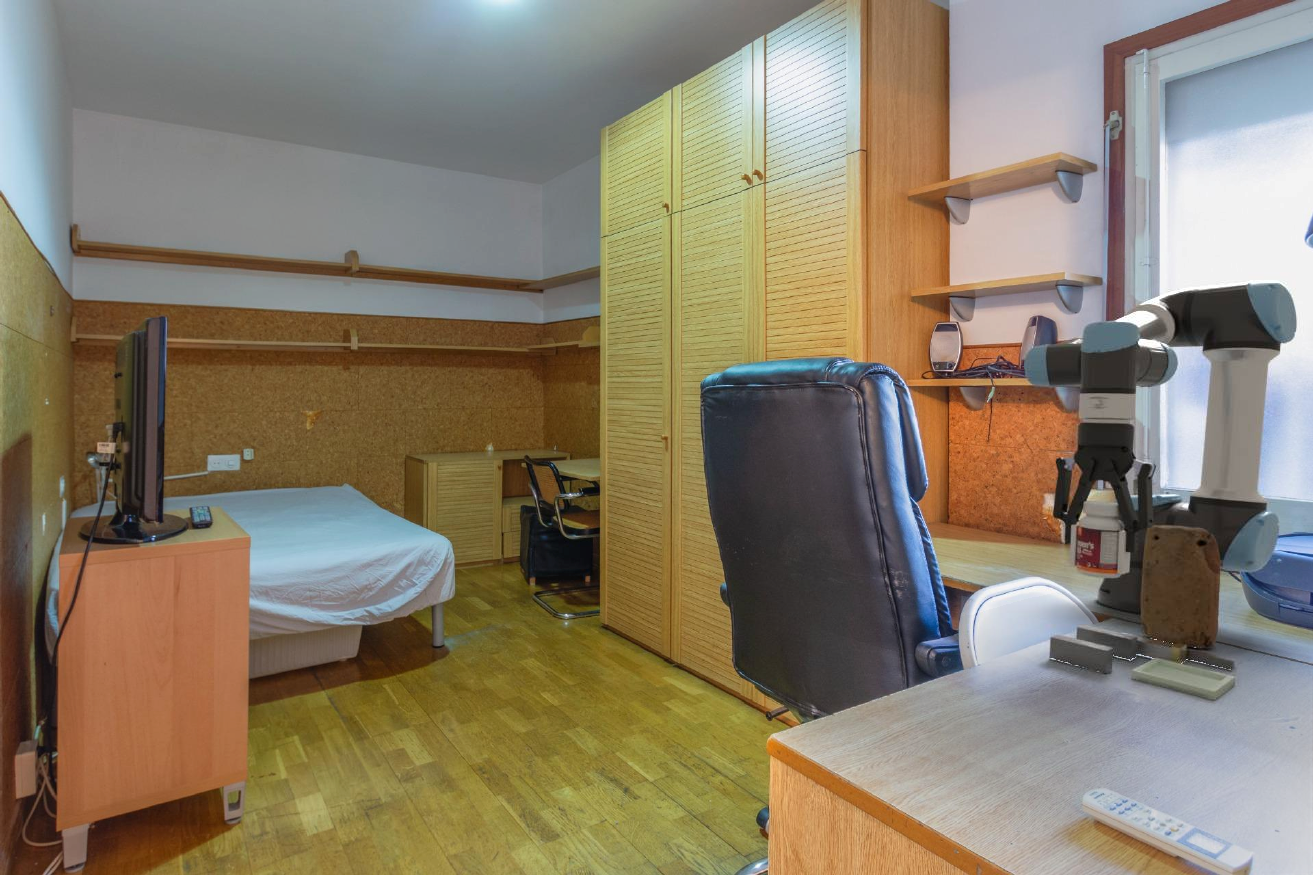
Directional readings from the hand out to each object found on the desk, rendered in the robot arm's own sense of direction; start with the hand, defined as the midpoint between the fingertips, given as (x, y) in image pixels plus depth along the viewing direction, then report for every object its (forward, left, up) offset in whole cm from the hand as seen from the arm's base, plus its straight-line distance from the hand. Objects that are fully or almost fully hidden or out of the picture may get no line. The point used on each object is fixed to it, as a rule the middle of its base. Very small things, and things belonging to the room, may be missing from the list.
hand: (1098, 568), depth 117 cm
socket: (0, 0, -14) cm, 14 cm away
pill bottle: (0, 0, -1) cm, 1 cm away
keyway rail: (-13, +7, -14) cm, 21 cm away
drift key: (-9, +4, -14) cm, 18 cm away
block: (-23, +5, -15) cm, 27 cm away
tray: (0, +12, -14) cm, 19 cm away
